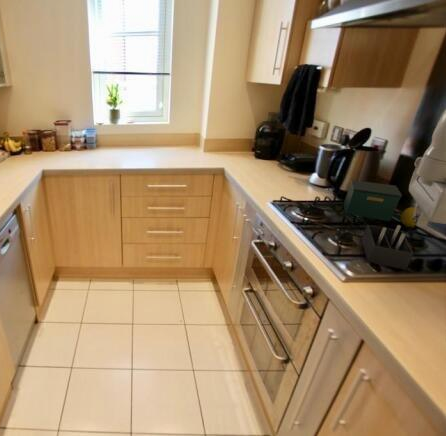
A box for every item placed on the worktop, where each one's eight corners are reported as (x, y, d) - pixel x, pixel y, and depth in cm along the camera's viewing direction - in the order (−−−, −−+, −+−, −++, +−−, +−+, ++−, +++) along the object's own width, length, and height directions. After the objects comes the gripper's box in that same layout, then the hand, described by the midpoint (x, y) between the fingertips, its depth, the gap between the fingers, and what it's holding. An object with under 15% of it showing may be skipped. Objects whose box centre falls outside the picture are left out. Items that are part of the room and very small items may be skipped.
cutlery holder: (393, 249, 101) (406, 221, 96) (403, 273, 91) (419, 243, 86) (360, 243, 105) (371, 215, 100) (365, 265, 94) (378, 235, 89)
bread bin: (385, 210, 125) (396, 185, 120) (391, 222, 117) (402, 196, 112) (342, 204, 131) (351, 180, 126) (345, 214, 123) (354, 189, 118)
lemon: (402, 222, 117) (411, 202, 113) (420, 228, 112) (430, 208, 109) (393, 225, 115) (402, 205, 111) (410, 232, 110) (420, 211, 107)
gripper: (482, 188, 62) (449, 247, 69) (447, 159, 78) (423, 209, 84) (440, 183, 65) (412, 240, 71) (414, 156, 81) (394, 205, 87)
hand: (418, 223), depth 78 cm, fingers closed
